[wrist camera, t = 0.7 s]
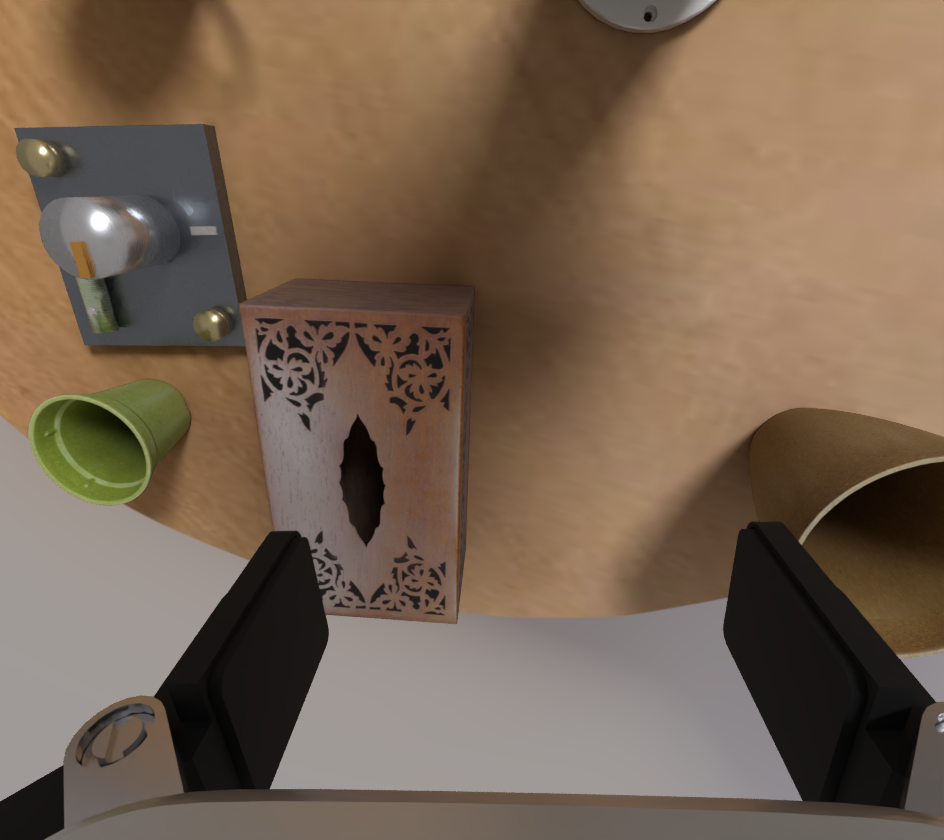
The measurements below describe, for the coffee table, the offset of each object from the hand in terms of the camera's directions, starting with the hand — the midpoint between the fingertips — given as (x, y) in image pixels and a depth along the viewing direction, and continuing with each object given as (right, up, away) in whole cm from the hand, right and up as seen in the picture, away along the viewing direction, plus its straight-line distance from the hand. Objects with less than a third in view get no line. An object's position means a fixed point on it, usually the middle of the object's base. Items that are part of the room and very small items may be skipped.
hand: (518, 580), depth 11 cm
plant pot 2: (+26, +1, +34) cm, 43 cm away
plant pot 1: (-30, +5, +37) cm, 47 cm away
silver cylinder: (-26, +18, +28) cm, 42 cm away
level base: (-27, +18, +30) cm, 44 cm away
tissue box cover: (-8, +3, +36) cm, 37 cm away
